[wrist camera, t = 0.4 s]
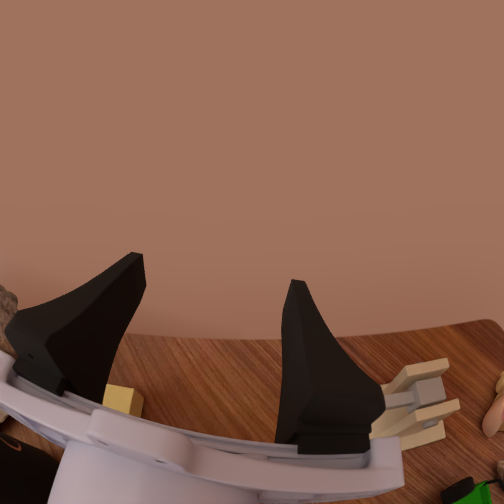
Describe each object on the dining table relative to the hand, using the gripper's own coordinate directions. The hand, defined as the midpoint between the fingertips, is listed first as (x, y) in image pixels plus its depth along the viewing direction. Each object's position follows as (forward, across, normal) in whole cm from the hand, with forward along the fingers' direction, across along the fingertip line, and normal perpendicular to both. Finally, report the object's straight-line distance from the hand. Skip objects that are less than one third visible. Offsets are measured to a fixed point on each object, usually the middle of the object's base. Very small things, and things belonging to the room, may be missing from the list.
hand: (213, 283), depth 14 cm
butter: (-1, +9, +22) cm, 24 cm away
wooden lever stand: (+1, -19, +17) cm, 25 cm away
